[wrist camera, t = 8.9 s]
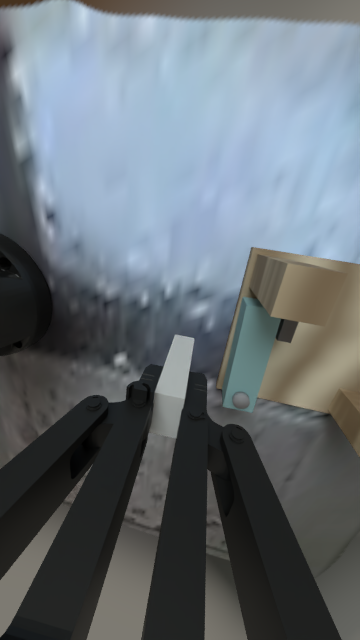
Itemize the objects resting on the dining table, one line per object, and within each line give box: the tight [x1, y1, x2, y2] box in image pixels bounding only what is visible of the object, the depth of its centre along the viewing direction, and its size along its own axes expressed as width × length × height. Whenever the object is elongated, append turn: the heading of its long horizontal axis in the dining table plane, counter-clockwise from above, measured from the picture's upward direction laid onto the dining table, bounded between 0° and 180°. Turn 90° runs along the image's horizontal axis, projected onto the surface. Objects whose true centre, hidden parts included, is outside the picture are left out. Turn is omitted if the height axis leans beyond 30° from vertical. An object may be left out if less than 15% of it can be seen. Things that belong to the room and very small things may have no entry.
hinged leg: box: [222, 297, 281, 413], centre depth 21 cm, size 11×3×4 cm, turn 173°
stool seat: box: [216, 247, 360, 457], centre depth 18 cm, size 16×16×10 cm
